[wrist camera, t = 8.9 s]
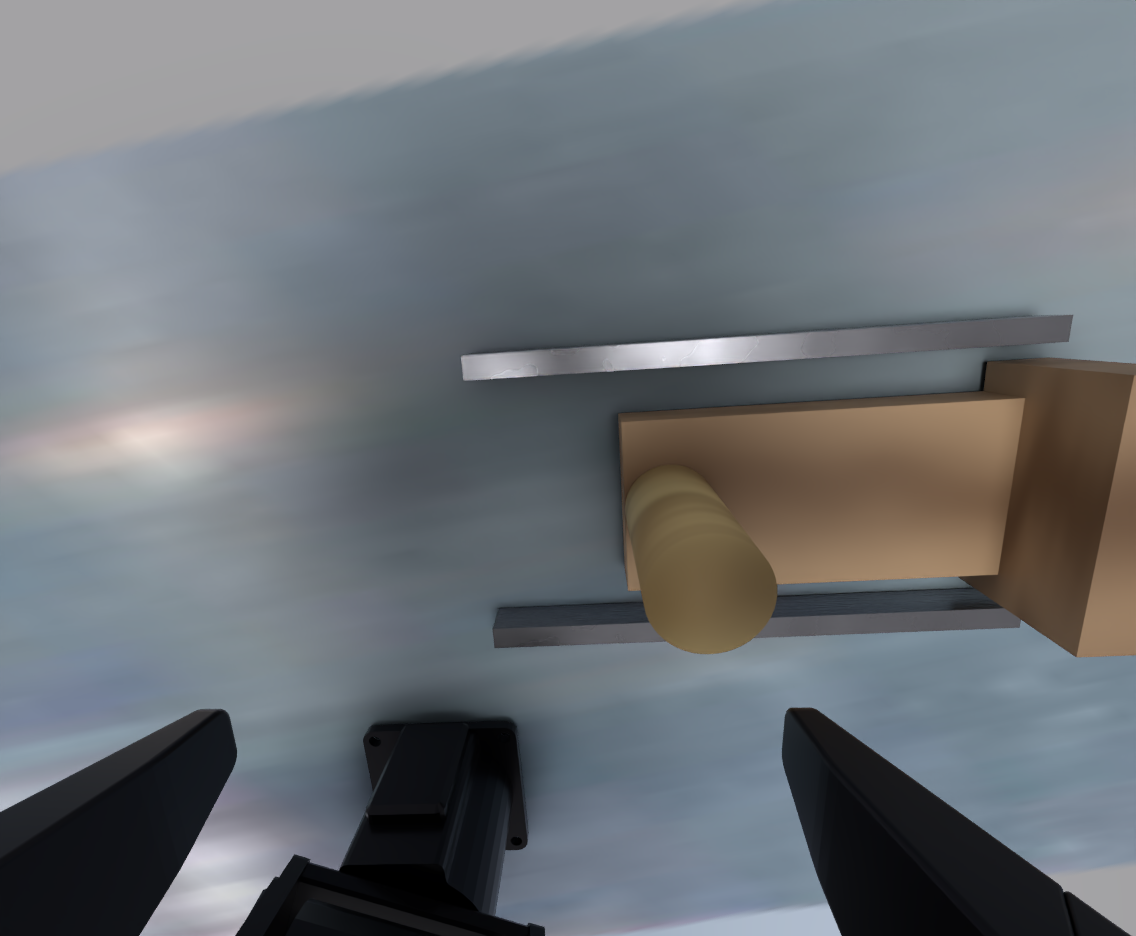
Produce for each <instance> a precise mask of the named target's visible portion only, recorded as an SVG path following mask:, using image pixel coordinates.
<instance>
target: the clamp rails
mask: <svg viewBox="0 0 1136 936" xmlns="http://www.w3.org/2000/svg"><path fill="white" fill-rule="evenodd" d="M1072 318H1073V315H1041V316H1021V317H1006V318H991V319H976V320H961V321H946V322H931V323H917V324H902V325H887V326H872V327H857V328H842V329H827V330H812V331H797V332H782V333H768V334H753V335H738V336H723V337H708V338H693V339H678V340H663V341H648V342H633V343H619V344H604V345H589V346H574V347H559V348H544V349H529V350H514V351H499V352H484V353H470V354H466V355H462V356H461V363H462V371H463V380H464V381H467V380H482V379H498V378H513V377H529V376H544V375H560V374H575V373H591V372H606V371H622V370H637V369H653V368H668V367H684V366H699V365H714V364H730V363H745V362H761V361H776V360H792V359H807V358H823V357H838V356H854V355H869V354H885V353H900V352H916V351H931V350H947V349H962V348H978V347H993V346H1009V345H1024V344H1040V343H1055V342H1069V336H1070V330H1071V324H1072ZM1020 622H1021V619H1019V618H1018V617H1016V616H1015V615H1013V614H1012V613H1010V612H1009V611H1008V610H1006V609H1005V608H1003V607H1002V606H1000V605H999V604H997V603H996V602H994V601H993V600H991V599H990V598H988V597H987V596H985V595H984V594H983V593H981V592H980V591H978V590H977V589H975V588H966V589H942V590H919V591H896V592H872V593H849V594H826V595H802V596H779V597H777V601H776V605H775V609H774V611H773V613H772V616H771V618H770V619H769V621H768V623H767V624H766V626H765V627H764V628H763V629H762V630H761V631H760V632H759V633H758V634H757V635H756V636H755V637H754V638H765V637H790V636H816V635H841V634H867V633H893V632H918V631H944V630H969V629H995V628H1020ZM493 637H494V646H495V648H508V647H534V646H560V645H585V644H611V643H637V642H662V641H665V640H664V639H663V638H662V637H661V636H660V635H659V634H658V633H657V632H656V631H655V630H654V628H653V627H652V625H651V624H650V622H649V620H648V618H647V615H646V612H645V608H644V604H643V602H639V603H615V604H592V605H568V606H545V607H522V608H499V610H498V613H497V616H496V620H495V623H494V626H493Z"/></svg>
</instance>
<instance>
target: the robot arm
mask: <svg viewBox="0 0 1136 936" xmlns="http://www.w3.org/2000/svg"><path fill="white" fill-rule="evenodd" d="M501 733H507V734H509V735H507V736H505V735H502V734H501ZM374 737H378V738H379V739H380V740H379V739H376V738H374ZM363 743H364V748H365V753H366V758H367V763H368V768H369V773H370V778H371V783H372V788H373V794H372V796H371V798H370V800H369V802H368V805H367V807H366V811H365V814H364V816H363V818H362V820H361V822H360V825H359V827H358V829H357V831H356V834H355V836H354V838H353V840H352V842H351V845H350V847H349V849H348V851H347V853H346V856H345V858H344V860H343V862H342V864H341V867H340V869H339V871H337V870H334V869H330V868H327V867H324V866H320V865H317V864H313V863H310V859H308V858H305V857H301V856H298V855H294V856H293V857H292V859H291V860H290V862H289V863H288V865H287V866H286V868H285V869H284V871H283V872H282V874H281V875H280V877H276V876H275V878H274V879H273V880H272V882H271V883H270V885H269V886H268V888H267V889H264V890H263V891H262V893H261V895H260V896H259V898H258V900H257V902H256V903H255V905H254V907H253V909H252V910H251V912H250V914H249V916H248V917H247V919H246V921H245V922H244V924H243V925H242V927H241V928H240V930H239V931H238V933H237V934H236V936H545V928H544V927H542V926H539V925H535V924H532V923H528V925H523V924H520V923H516V922H513V921H510V920H506V919H503V918H499V917H496V916H495V913H496V906H497V900H498V893H499V887H500V880H501V874H502V867H503V861H504V854H505V850H520V849H523V848H525V847H526V845H527V842H528V833H529V832H528V823H527V814H526V805H525V795H524V786H523V777H522V768H521V759H520V750H519V740H518V731H517V728H516V726H515V725H514V724H513V723H511V722H510V721H480V722H448V723H417V724H386V725H373V726H371V727H370V728H369V729H368V731H367V733H366V734H365V736H364V738H363ZM236 758H237V748H236V743H235V739H234V734H233V730H232V725H231V721H230V717H229V714H228V713H227V712H226V711H225V710H222V709H201V710H197V711H194V712H192V713H191V714H189V715H187V716H185V717H183V718H181V719H179V720H177V721H175V722H173V723H171V724H169V725H167V726H165V727H164V728H162V729H160V730H158V731H156V732H154V733H152V734H150V735H148V736H146V737H144V738H142V739H140V740H138V741H137V742H135V743H133V744H131V745H129V746H127V747H125V748H123V749H121V750H119V751H117V752H115V753H113V754H111V755H110V756H108V757H106V758H104V759H102V760H100V761H98V762H96V763H94V764H92V765H90V766H88V767H86V768H84V769H83V770H81V771H79V772H77V773H75V774H73V775H71V776H69V777H67V778H65V779H63V780H61V781H59V782H57V783H56V784H54V785H52V786H50V787H48V788H46V789H44V790H42V791H40V792H38V793H36V794H34V795H32V796H30V797H29V798H27V799H25V800H23V801H21V802H19V803H17V804H15V805H13V806H11V807H9V808H7V809H5V810H3V811H2V812H0V936H139V935H140V933H141V932H142V930H143V929H144V927H145V925H146V924H147V922H148V921H149V919H150V917H151V916H152V914H153V913H154V911H155V910H156V908H157V906H158V905H159V903H160V902H161V900H162V898H163V897H164V895H165V894H166V892H167V890H168V889H169V887H170V885H171V884H172V882H173V880H174V879H175V877H176V875H177V874H178V872H179V871H180V869H181V867H182V865H183V863H184V861H185V860H186V858H187V856H188V854H189V852H190V851H191V849H192V847H193V845H194V843H195V841H196V839H197V837H198V835H199V833H200V831H201V830H202V828H203V826H204V824H205V822H206V820H207V818H208V816H209V814H210V812H211V810H212V808H213V807H214V805H215V803H216V801H217V799H218V797H219V795H220V793H221V791H222V789H223V787H224V785H225V784H226V782H227V780H228V778H229V776H230V774H231V772H232V770H233V768H234V765H235V762H236ZM782 760H783V766H784V770H785V773H786V776H787V780H788V783H789V786H790V789H791V793H792V796H793V799H794V803H795V806H796V809H797V812H798V816H799V819H800V822H801V825H802V829H803V832H804V835H805V838H806V842H807V845H808V848H809V852H810V855H811V858H812V861H813V864H814V867H815V870H816V873H817V876H818V879H819V881H820V884H821V886H822V889H823V892H824V894H825V897H826V899H827V901H828V904H829V906H830V909H831V911H832V913H833V916H834V918H835V921H836V923H837V925H838V928H839V930H840V933H841V935H842V936H1131V935H1129V934H1128V933H1126V932H1125V931H1124V930H1122V929H1121V928H1119V927H1118V926H1116V925H1115V924H1114V923H1112V922H1111V921H1109V920H1108V919H1107V918H1105V917H1104V916H1102V915H1101V914H1100V913H1098V912H1097V911H1096V910H1094V909H1093V908H1091V907H1090V906H1089V905H1087V904H1086V903H1084V902H1083V901H1082V900H1080V899H1079V898H1078V897H1076V896H1075V895H1073V894H1072V893H1070V892H1067V891H1066V892H1063V889H1062V887H1061V886H1060V885H1059V884H1058V883H1056V882H1055V881H1054V880H1052V879H1051V878H1049V877H1048V876H1047V875H1045V874H1044V873H1043V872H1041V871H1040V870H1038V869H1037V868H1036V867H1034V866H1033V865H1031V864H1030V863H1029V862H1027V861H1026V860H1025V859H1023V858H1022V857H1020V856H1019V855H1018V854H1016V853H1015V852H1013V851H1012V850H1011V849H1009V848H1008V847H1007V846H1005V845H1004V844H1002V843H1001V842H1000V841H998V840H997V839H995V838H994V837H993V836H991V835H990V834H988V833H987V832H986V831H984V830H983V829H982V828H980V827H979V826H977V825H976V824H975V823H973V822H972V821H970V820H969V819H968V818H966V817H965V816H964V815H962V814H961V813H959V812H958V811H957V810H955V809H954V808H952V807H951V806H950V805H948V804H947V803H946V802H944V801H943V800H941V799H940V798H939V797H937V796H936V795H934V794H933V793H932V792H930V791H929V790H928V789H926V788H925V787H923V786H922V785H921V784H919V783H918V782H916V781H915V780H914V779H912V778H911V777H910V776H908V775H907V774H905V773H904V772H903V771H901V770H900V769H898V768H897V767H896V766H894V765H893V764H892V763H890V762H889V761H887V760H886V759H885V758H883V757H882V756H880V755H879V754H878V753H876V752H875V751H873V750H872V749H871V748H869V747H868V746H867V745H865V744H864V743H862V742H861V741H860V740H858V739H857V738H855V737H854V736H853V735H851V734H850V733H849V732H847V731H846V730H844V729H843V728H842V727H840V726H839V725H837V724H836V723H835V722H833V721H832V720H831V719H829V718H828V717H826V716H825V715H824V714H822V713H821V712H819V711H818V710H816V709H814V708H789V709H788V710H787V711H786V714H785V721H784V732H783V744H782Z"/></svg>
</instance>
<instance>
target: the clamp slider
mask: <svg viewBox="0 0 1136 936" xmlns="http://www.w3.org/2000/svg"><path fill="white" fill-rule="evenodd" d="M618 421H619V445H620V468H621V492H622V515H623V538H624V562H625V573H626V579H627V586H628V591H636V590H641V594H642V599H643V604H644V608H645V612H646V615H647V618H648V620H649V622H650V624H651V625H652V627H653V628H654V630H655V631H656V632H657V633H658V634H659V635H660V636H661V637H662V638H663V639H664V640H665V641H667V642H668V643H670V644H671V645H673V646H675V647H677V648H679V649H682V650H684V651H688V652H692V653H698V654H716V653H722V652H727V651H730V650H733V649H735V648H738V647H740V646H742V645H744V644H745V643H747V642H749V641H750V640H751V639H753V638H754V637H755V636H756V635H757V634H758V633H759V632H760V631H761V630H762V629H763V628H764V627H765V626H766V624H767V623H768V621H769V619H770V618H771V616H772V613H773V611H774V609H775V605H776V601H777V584H796V583H819V582H841V581H864V580H887V579H910V578H932V577H955V576H959V578H960V579H962V580H963V581H965V582H966V583H968V584H969V585H971V586H972V587H974V588H975V589H977V590H978V591H980V592H981V593H983V594H984V595H985V596H987V597H988V598H990V599H991V600H993V601H994V602H996V603H997V604H999V605H1000V606H1002V607H1003V608H1005V609H1006V610H1008V611H1009V612H1010V613H1012V614H1013V615H1015V616H1016V617H1018V618H1019V619H1021V620H1022V621H1024V622H1025V623H1027V624H1028V625H1030V626H1031V627H1033V628H1034V629H1035V630H1037V631H1038V632H1040V633H1041V634H1043V635H1044V636H1046V637H1047V638H1049V639H1050V640H1052V641H1053V642H1055V643H1056V644H1058V645H1059V646H1061V647H1062V648H1063V649H1065V650H1066V651H1068V652H1069V653H1071V654H1072V655H1074V656H1075V657H1098V656H1125V655H1136V364H1132V363H1118V362H1104V361H1090V360H1076V359H1062V358H1035V359H1019V360H1003V361H988V362H987V369H986V376H985V383H984V391H977V392H961V393H944V394H928V395H911V396H895V397H878V398H862V399H845V400H829V401H812V402H796V403H779V404H763V405H746V406H730V407H713V408H697V409H680V410H664V411H647V412H631V413H618Z"/></svg>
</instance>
